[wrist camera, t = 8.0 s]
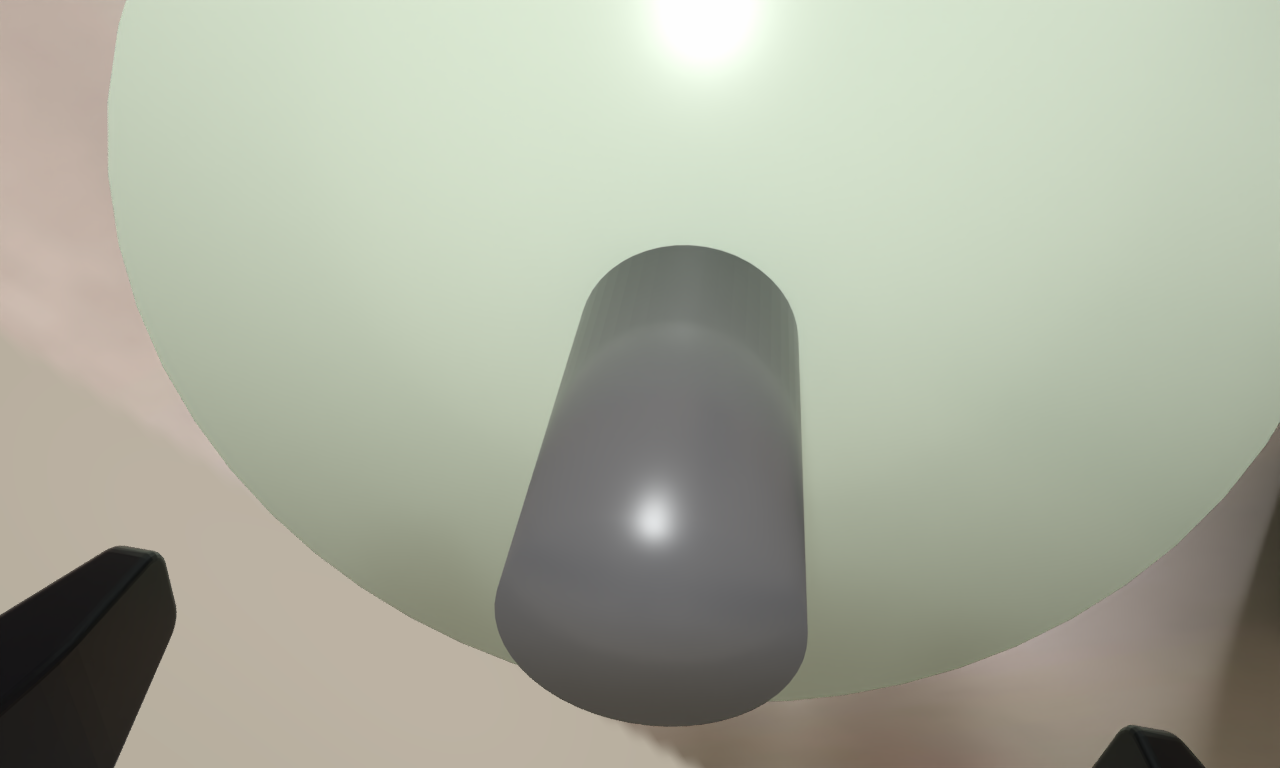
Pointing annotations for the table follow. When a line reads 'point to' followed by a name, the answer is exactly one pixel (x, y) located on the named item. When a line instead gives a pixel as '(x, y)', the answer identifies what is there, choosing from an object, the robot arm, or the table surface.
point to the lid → (714, 312)
